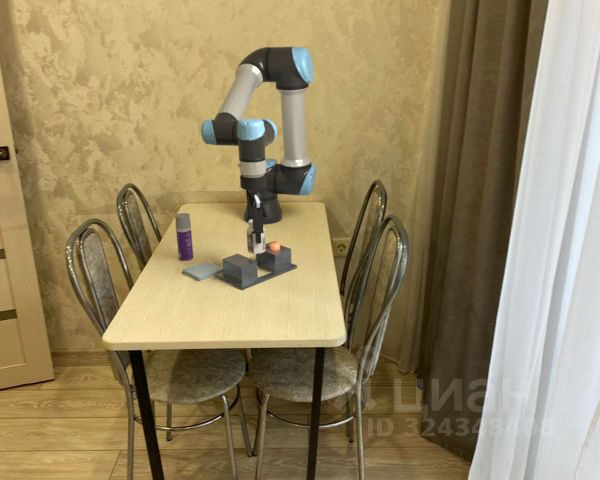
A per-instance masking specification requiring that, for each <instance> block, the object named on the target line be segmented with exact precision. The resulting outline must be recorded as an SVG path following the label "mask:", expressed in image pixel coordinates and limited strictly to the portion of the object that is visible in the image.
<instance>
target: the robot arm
mask: <svg viewBox="0 0 600 480" xmlns="http://www.w3.org/2000/svg"><path fill="white" fill-rule="evenodd" d="M313 63H314V62H313V59H312V55H311V52H310V51H309V49H307V48H306V47H301V46H273V47H272V46H271V47H270V46H265V47H261V48H258V49H255V50H253V51H251V53H249V54H247V55H246V56H245V57H244V58H243V59H242V60H241V61H240V62H239V63H238V66H237V67H236V70H235V73H234V75H235V77H234V81H233V83H232V84H231V86H230V88H229V90H228V92H227V94H226V96H225V97H224V100H223V101H222V103H221V106H220V108H219V109H218V110H217V111H218V112H217V114H216V115H215V117H214V119H213V118H211V119H206V120H203V122H202V123H201V129H200V135H201V138H202V139H201V140H202V142H204V143H205V144H206V145H212V146H237V147H238V149H237V150H238V160H239V162H238V164H236V165H237V166H236V167H237V168H239V174H240V176H239V181H240V183H239V184H240V188H241V189H242V190H245V193H246V194H245V196H246V206H245V211H244V215H243V216H244V221H245V222H247V223H248V222H249V220H251V219H252V220H253V231H252V232H251V234H253V249H254V253H263V239H262V233H263V232H264V230H265V229H264V230H263V228H264V225H268V224H269V225H270V224H274V223H275V224H276V223H278V222H280V221H282V220H283V210H282V208H281V204H280V202H279V198H278V197H279V196H278V195H287V196H289V195H290V196H298V197H300V196H310V195H311V194H312V192H313V191H314V188H315V183H316V178H317V166H316V165H315V164H312V159H311V158H310V157H309V156H308V151H307V150H308V149H307V148H308V147H307V145H308V144H307V123H306V122H307V121H306V120H307V119H306V95H305V93H306V91H307V90H308V89H309V87H310V85H309V84H311V83H312V82H313V80H314V64H313ZM262 83H263V84H264V83H275V89H276V91H278V92H279V94H280V106H281V107H280V108H281V124H282V125H281V126H282V127H281V128H282V143H283V156H282V157H283V158H281V159H280V163H278V161H277V159H275V158H266V147H267V146H270V145H271V144H273V142H274V141H275V140H276V138H277V136H278V127H277V125H276V124H275V123H274V121H272V120H271V119H267V118H263V119H262V118H261V119H260V118H245V119H243V118H244V115H245V113H246V111H247V108H248V107H249V104H250V102H251V100H252V98H253V96H254V93H255V92H256V90H257V89H258V88H259V87H261V85H262Z"/></svg>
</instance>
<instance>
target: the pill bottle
mask: <svg viewBox="0 0 600 480" xmlns="http://www.w3.org/2000/svg"><path fill="white" fill-rule="evenodd" d="M247 223H248V224H247V225H248V227H247V228H246V243H247V252H248V253H249V254H252V255H256V254H261V253H254V249H253V234H251V232H252V231H253V220H252V219H251V220H249V222H247ZM263 230H264V232H263V233H262V239H263V252H264V251H265V244H266V232H265V231H266V230H265V227H263Z"/></svg>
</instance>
